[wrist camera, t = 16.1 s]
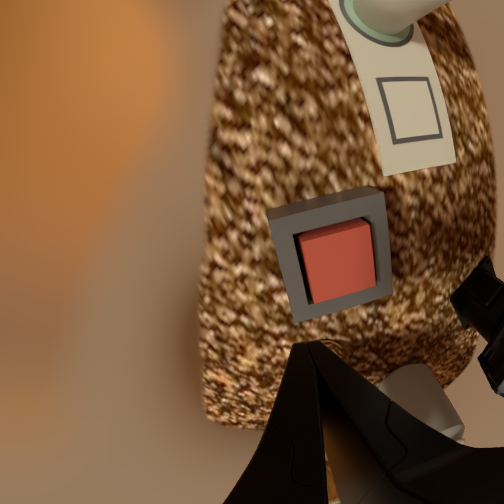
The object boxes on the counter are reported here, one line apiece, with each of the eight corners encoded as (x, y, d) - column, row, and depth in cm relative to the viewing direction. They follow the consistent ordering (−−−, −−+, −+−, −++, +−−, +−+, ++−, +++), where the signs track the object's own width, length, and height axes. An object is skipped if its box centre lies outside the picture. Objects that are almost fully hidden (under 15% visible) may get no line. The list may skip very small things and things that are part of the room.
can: (412, 348, 24) (463, 432, 13) (434, 372, 26) (476, 441, 15) (359, 391, 26) (390, 479, 15) (389, 408, 28) (418, 480, 17)
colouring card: (454, 162, 18) (457, 162, 17) (383, 175, 18) (385, 176, 18) (398, -11, 12) (400, -13, 11) (319, -16, 13) (321, -19, 12)
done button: (360, 268, 20) (375, 285, 17) (306, 283, 21) (314, 303, 18) (352, 213, 19) (369, 224, 16) (294, 228, 19) (301, 242, 16)
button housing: (377, 276, 21) (392, 294, 18) (289, 301, 22) (294, 323, 19) (365, 185, 19) (383, 192, 16) (265, 210, 19) (268, 221, 16)
